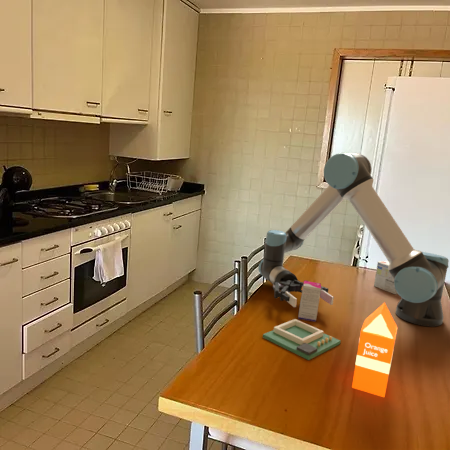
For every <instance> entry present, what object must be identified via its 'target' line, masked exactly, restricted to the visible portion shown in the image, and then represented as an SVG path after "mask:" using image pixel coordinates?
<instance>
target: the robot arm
mask: <svg viewBox="0 0 450 450" xmlns="http://www.w3.org/2000/svg"><path fill="white" fill-rule="evenodd" d="M371 174H372V164H371V162H370V160H369V159H368V157H367V156H365V155H364V154H361V153H359V152H346V151H344V152H343V151H342V152H339V153H335V154H333V155H332V156H331V157H329V158H328V160H327V161H326V163H325V165H324V168H323V177H324V180H325V182H326V184H327V185H328V186H327V187H326V188H325V189H324V190H323V191H322V193H321V194H320V195H319V196H318V197H317V198H316V199H315V200H314V201H313V202H312V203H311V204H310V205H309V207H308V208H307V209H305V211H304V212H303V213H302V214H301V215H300V216H299V217H298V218H297V220H295V221H294V223H293V224H292V225H291V226H290V227H289V228H288V229H287V230H286V231H283V230H279V229H278V230H277V229H271V230H268V231H267V232H266V236H265V237H266V238H265V240H264V241H265V242H264V243H265V244H264V253H263V259H261V261H260V263H259V264H258V267H257V269H258V272H259V274H260V275H261V276H262V277H263V278H264V279H265V280H267V281H268V282H270V283H271V284H272V289H273V291H274V296H273V297H274V299H279V301H281V302H284V301H285V302H287V303H288V304H289V305H291V306H292V307H293V308H297V302H298V301H297V300H298V298H296V297H295V296H294V295H293V294H291V292H295V293H301V294H302V289H303V283H304V281H300V280H298V278H297V276H296V274H294V273H293V272H291V271H290V270H289V269H287V268H285V267H284V259H285V254H286V253H289V252H293V251H295V250H298V249H299V248H301V247H302V246H303V244H304V242H305V240H306V239H307V238H308V237H309V236H310V235H311V234H312V233H313V232H314V230H316V229H317V228H318V227H319V226H320V225H321V223H323V222H324V220H325V219H327V217H328V216H330V214H331V213H333V211H335V210H336V208H337V207H338V206H339V205H340V204H341V203H342V202H343V201H344V200H346V201H349V203H350V204H351V206H352V207H353V209H354V210H355V212H356V214H357V215H358V217H359V218H360V220H361V221H362V223H363V225H364V226H365V227H366V229H367V230H368V232H369V234H370V235H371V237H373V238H372V239H374V241H375V243H376V244H377V246H378V248H379V249H380V251H382V253H383V255H384V257H385V258H386V259H387V260H386V261H389V268H388V270H389V272H390V273H391V275H392V277H393V278H394V286H395V289H396V291H397V293H398V294H397V295H398V296H399V297H400V299H399V302H398V303H397V305H396V308H395V314H396V316H397V317H398V318H399V319H401V320H404V321H405V322H408V323H410V324H414V325H417V326H423V327H439V326H441V325H443V321H444V311H443V306H442V305H443V304H442V297H443V292H444V287H445V281H446V276H447V271H448V268H449V259H448V257H446V256H443V255H440V254H436V253H431V252H426V251H425V252H424V251H421V250H417V249H415V248H414V247H413V246H412V244H411V243H410V241H409V240H408V238H407V237H406V235H405V234H404V232H403V230H402V229H401V227H400V226H399V224H398V223H397V222H396V220H395V219H394V217H393V215H392V213H391V212H390V211H389V210H388V208H387V207H386V205H385V203H384V202H383V201H382V199H381V197H380V196H379V195H378V193H377V191H376V189H374V187H373V184H374V179H373V177H372V175H371ZM334 298H335V297H334V296H333V295H332V294H330V293H329V288H328V287H325V286H322V285H321V292H320V299H322V300H323V301H324V302H326V303H327V304H329V305H330V306H331V305H332V306H333V304H334Z"/></svg>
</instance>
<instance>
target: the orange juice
mask: <svg viewBox="0 0 450 450" xmlns="http://www.w3.org/2000/svg"><path fill="white" fill-rule="evenodd" d="M397 333H398V325H397V323H396V321H395V320H394V317H393V316H392V314H391V312H390V310H389V307H388V306H387V304H386V301H384V302H383V303H382V304H381V305H379V307H377V308H376V309H375V310H374V311H373V312H372V313H370V315H368V316H367V317H366V318H365V319H364V321H363V324H362V327H361V329H360V335H359V338H358V346H357V353H356V359H355V363H354V364H355V365H354V371H353V379H352V385H351V388H352V389H355V390H358V391H361V392H366V393H368V394H370V395H371V394H372V395H374V396H378V397H382V398H385V396H386V391H387V388H388V387H387V386H388V381H389V376H390V371H391V366H392V360H393V354H394V349H395V348H394V347H395V344H396V339H397Z"/></svg>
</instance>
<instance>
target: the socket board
mask: <svg viewBox="0 0 450 450" xmlns="http://www.w3.org/2000/svg"><path fill="white" fill-rule="evenodd" d="M262 338H263V339H265V340H266V341H268V342H271V343H273V344H274V345H278V346H279V347H280V348H283V349H285V350H287V351H288V352H289V351H290V353H293V354H296V355H297V356H299V357H301V358H303V359H306V360H307V361H310V360H312V359H313V358H316V357H318V356H320V355H322V354H323V353H325V352H327V351H329V350H332V349H333V348H335V347H336V346H339V345H341V341H342V340H340V339H339V338H336V337H333V336H332V335H329V334H326V333H325V332H324V330H322V329H319V328H317V327H316V326H312V325H310V324H308V323H305V322H303V321H301V320H300V319H296V318H293V319H292V320H291V319H290V320H288V321H287V322H284V323H281V324H279V325H275V326H273V329H272V330H271V331H267V332H265V333H263V334H262Z"/></svg>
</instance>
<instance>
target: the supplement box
mask: <svg viewBox="0 0 450 450" xmlns="http://www.w3.org/2000/svg"><path fill="white" fill-rule="evenodd" d="M321 286H322V284H321V283H319V282H313V281H309V280H304V281H303V286H302V289H301V290H302V293H301V297H300V302H299V309H298V315H297V316H298V317H297V318H298V319H297V320H302V321H310V322H316V321H317V316H318V311H319V306H320V305H319V304H320V299H321V298H320V292H321Z"/></svg>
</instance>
